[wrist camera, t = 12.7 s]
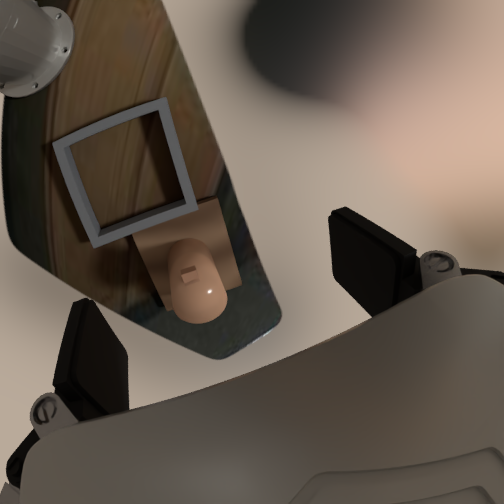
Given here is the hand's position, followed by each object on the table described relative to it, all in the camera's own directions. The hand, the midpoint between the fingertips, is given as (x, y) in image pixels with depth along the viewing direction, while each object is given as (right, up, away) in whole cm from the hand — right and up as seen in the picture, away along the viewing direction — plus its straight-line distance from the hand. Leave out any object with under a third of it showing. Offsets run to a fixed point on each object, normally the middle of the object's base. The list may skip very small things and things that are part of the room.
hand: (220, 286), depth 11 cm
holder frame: (-14, +11, +22) cm, 29 cm away
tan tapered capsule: (-7, 0, +29) cm, 30 cm away
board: (-8, +1, +30) cm, 31 cm away
